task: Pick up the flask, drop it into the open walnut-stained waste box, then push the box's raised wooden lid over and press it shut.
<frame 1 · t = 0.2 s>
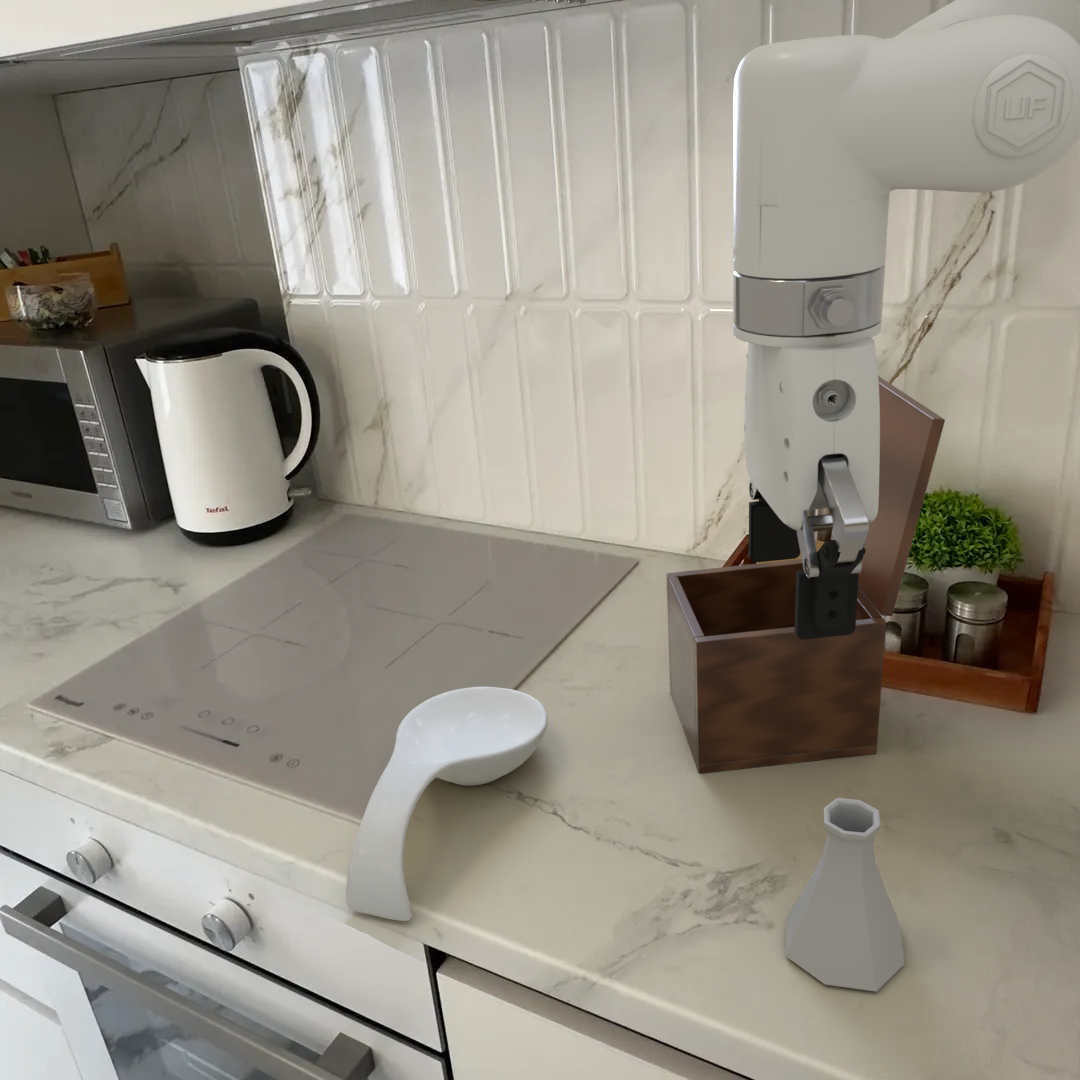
hand: (797, 593, 58), 21 cm above the worktop, tool pointing down, fingers open, 9 cm apart
waste box: (767, 720, 81), on the worktop
flask: (843, 947, 60), on the worktop
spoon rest: (451, 809, 75), on the worktop
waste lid: (880, 492, 74), point 20 cm above the worktop, hinge at 100.0°
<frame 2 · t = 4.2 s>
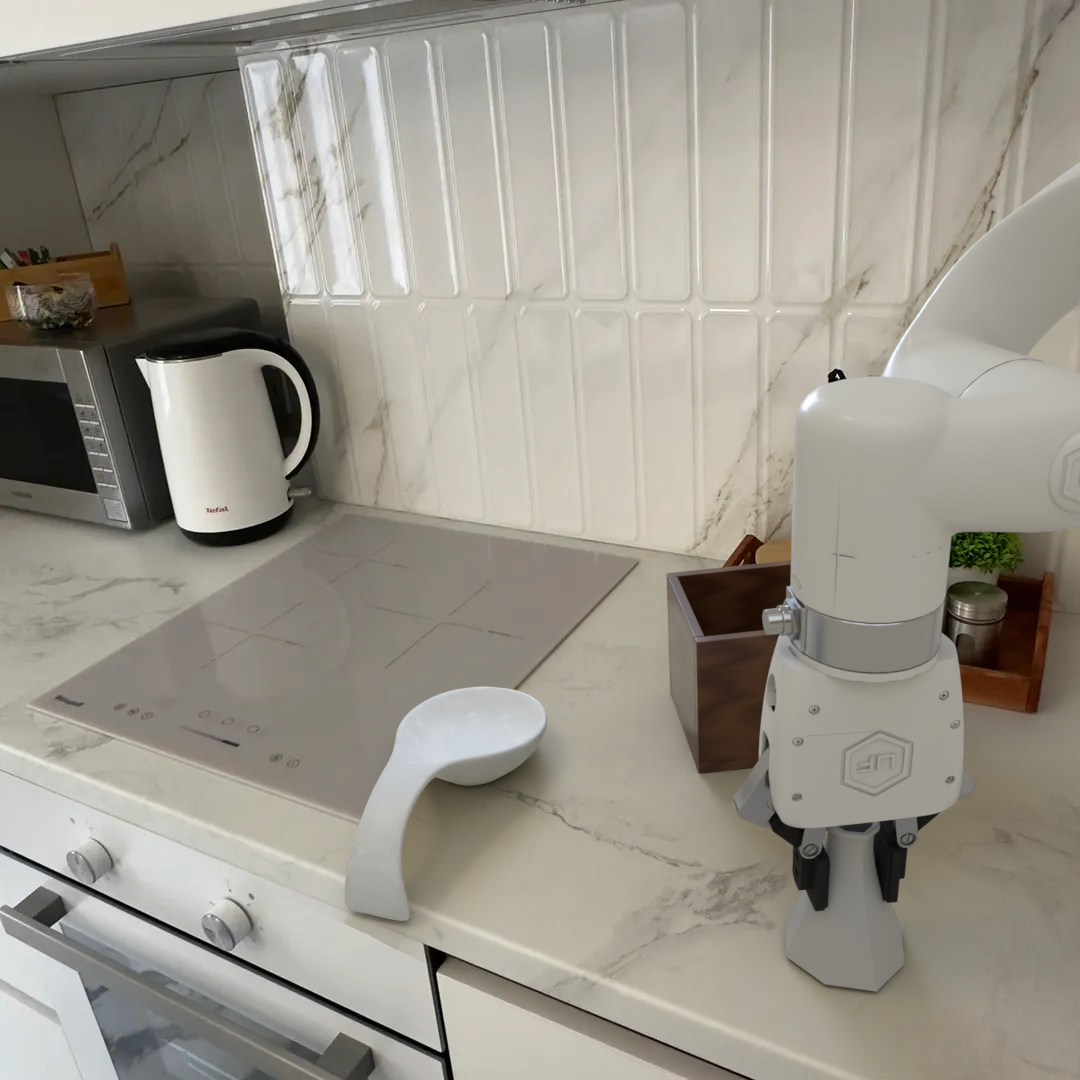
hand: (847, 887, 58), 5 cm above the worktop, tool pointing down, fingers closed on flask, 3 cm apart
flask: (843, 947, 60), on the worktop, touching gripper
everything else where it was.
when the fingers open (6 cm above the worktop, at t = 13.5 s): flask stays where it is, resting on waste box.
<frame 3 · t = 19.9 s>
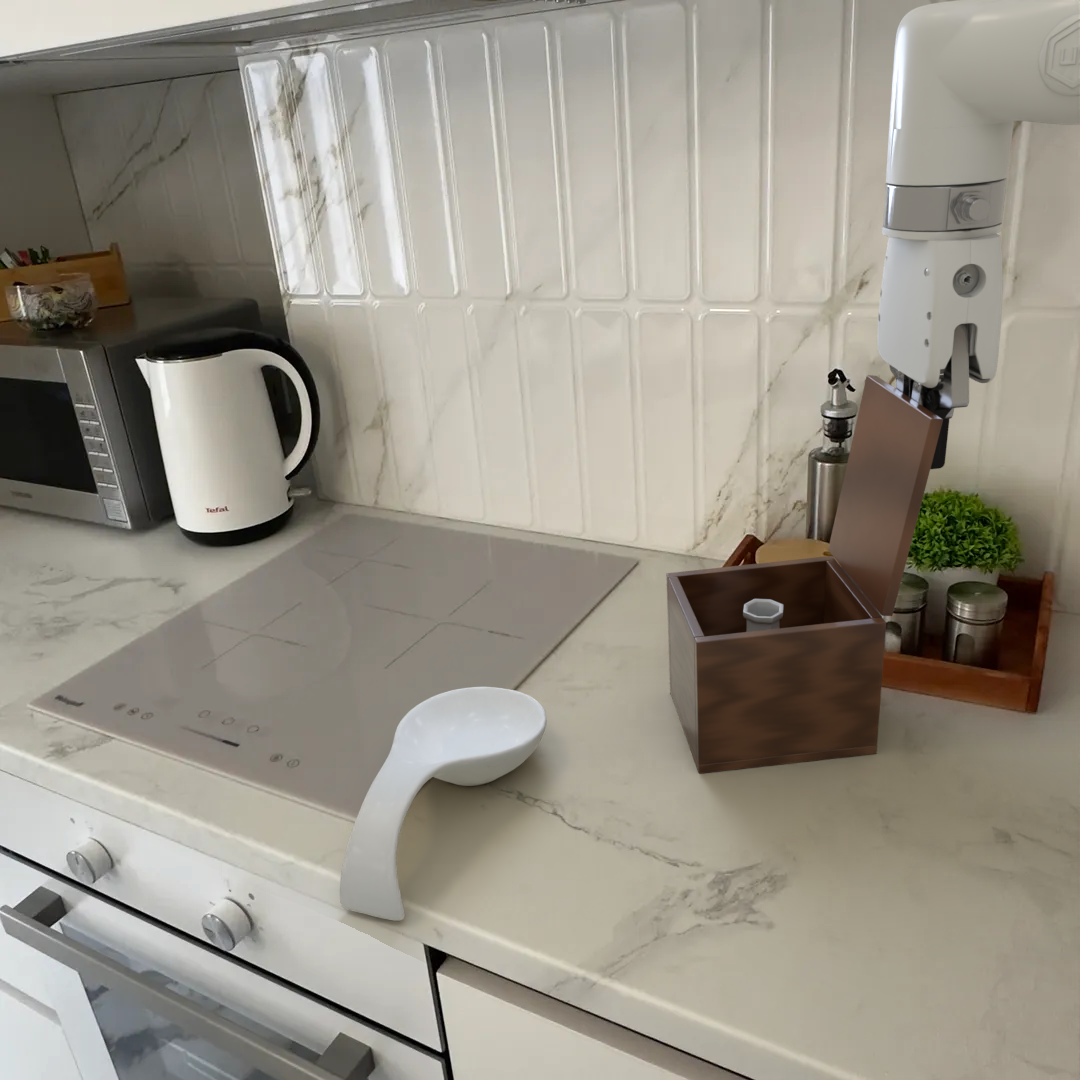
hand: (918, 465, 73), 21 cm above the worktop, tool pointing down, fingers closed
flask: (761, 715, 81), point 1 cm above the worktop, touching waste box
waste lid: (879, 492, 74), point 20 cm above the worktop, hinge at 99.4°, touching gripper
everything else where it was.
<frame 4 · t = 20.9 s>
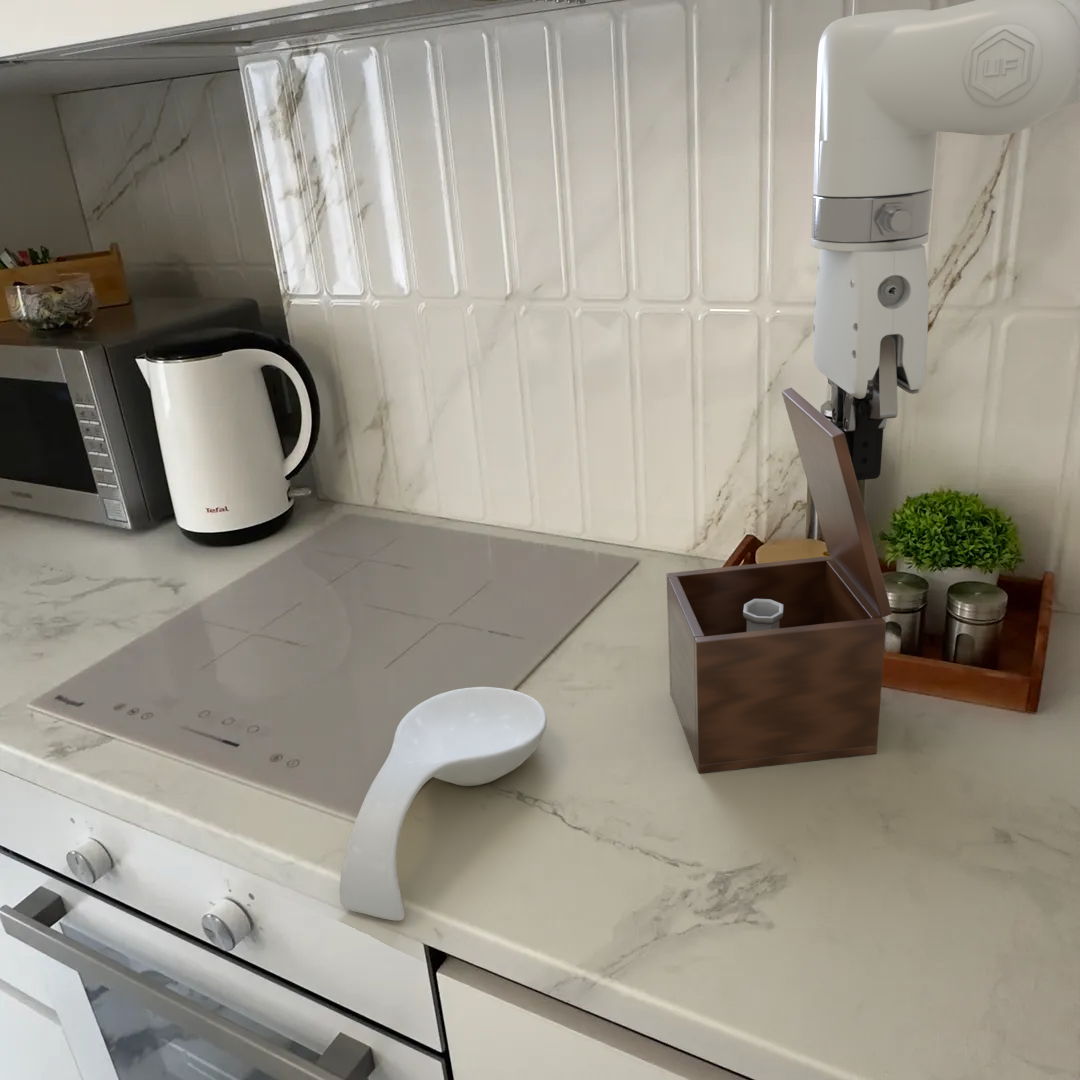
hand: (854, 475, 73), 21 cm above the worktop, tool pointing down, fingers closed
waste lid: (835, 499, 73), point 19 cm above the worktop, hinge at 73.4°, touching gripper
everything else where it was.
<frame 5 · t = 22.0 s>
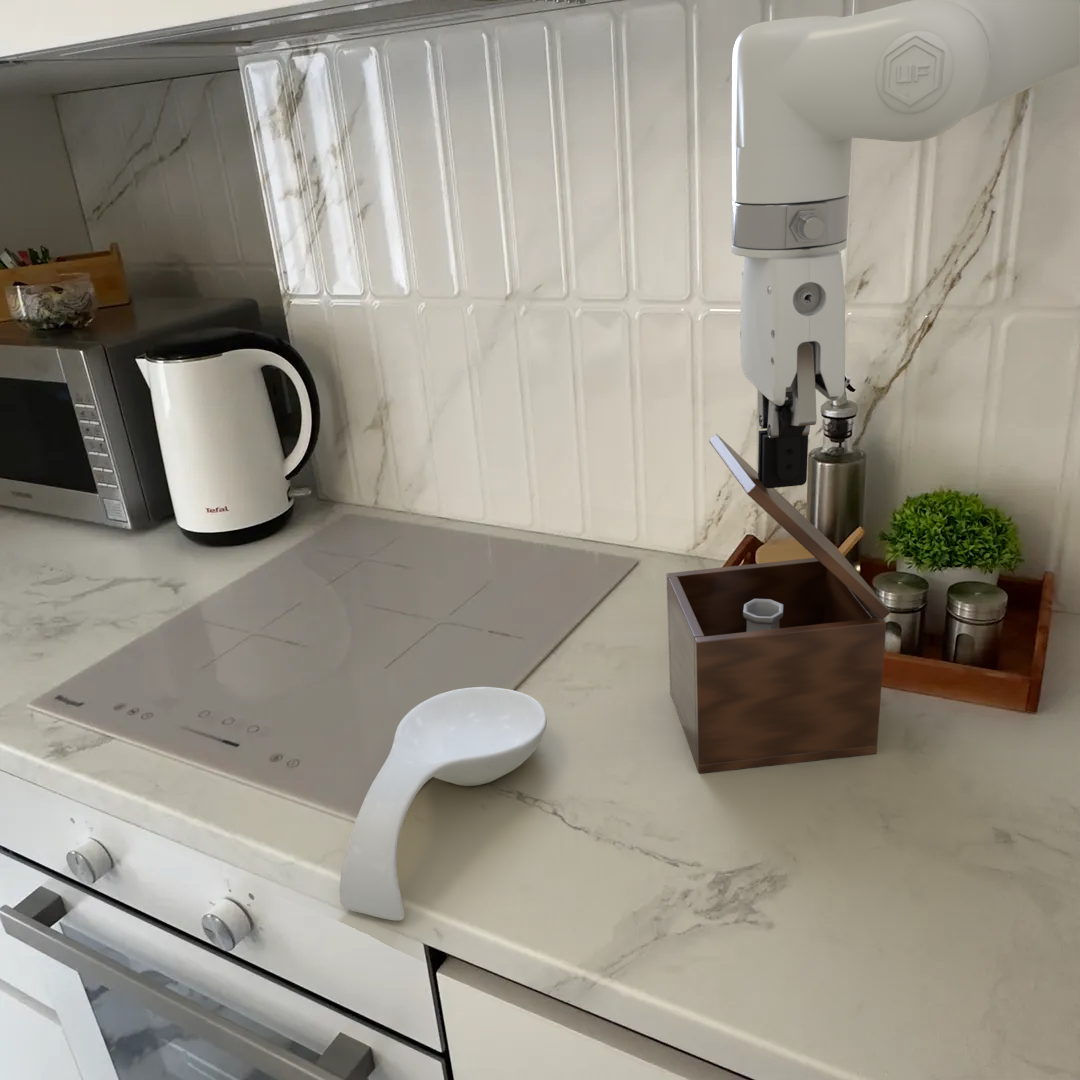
hand: (781, 482, 73), 21 cm above the worktop, tool pointing down, fingers closed
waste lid: (796, 523, 74), point 18 cm above the worktop, hinge at 47.5°, touching gripper
everything else where it was.
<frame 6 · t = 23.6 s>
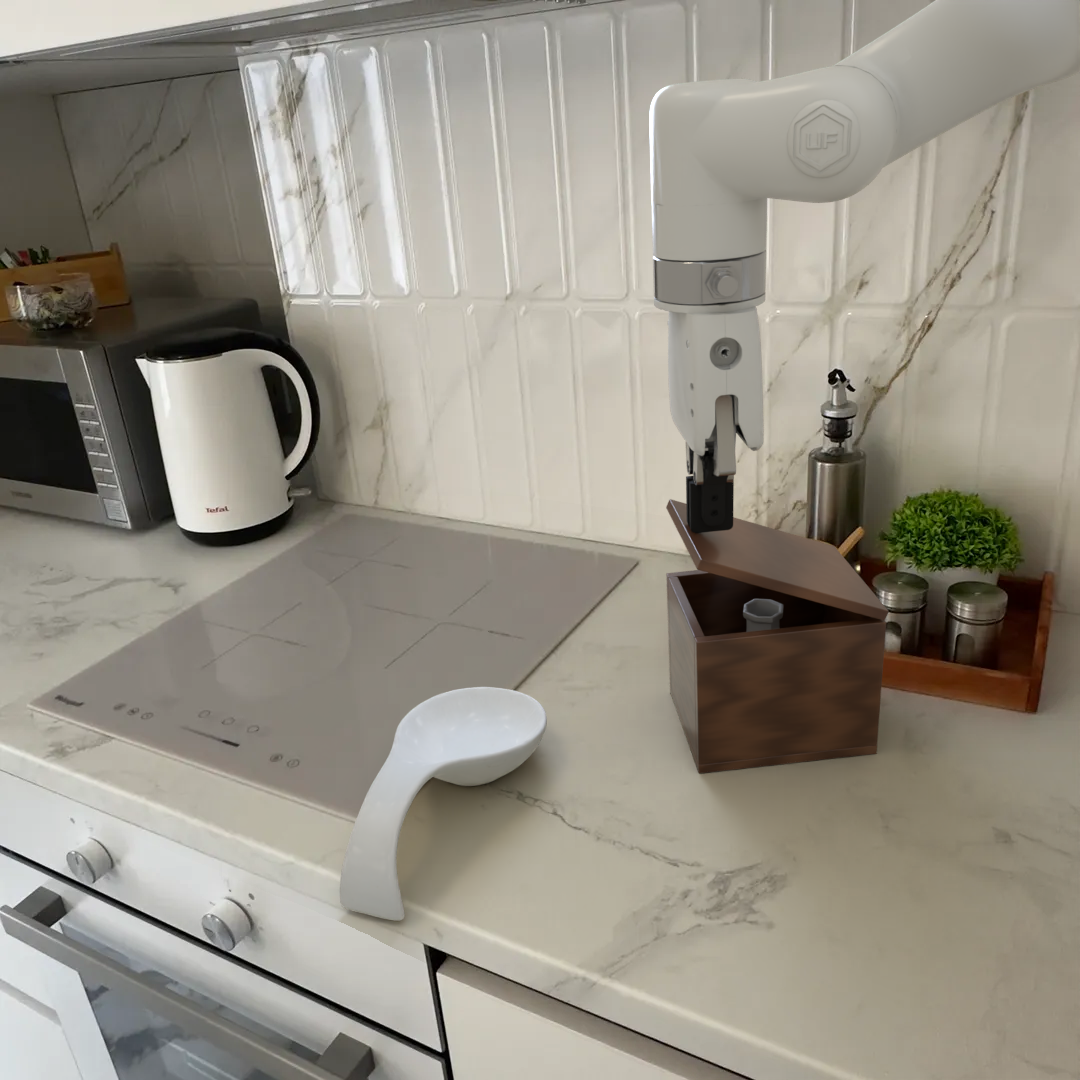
hand: (709, 526, 74), 18 cm above the worktop, tool pointing down, fingers closed
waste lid: (771, 556, 75), point 15 cm above the worktop, hinge at 22.8°, touching gripper
everything else where it was.
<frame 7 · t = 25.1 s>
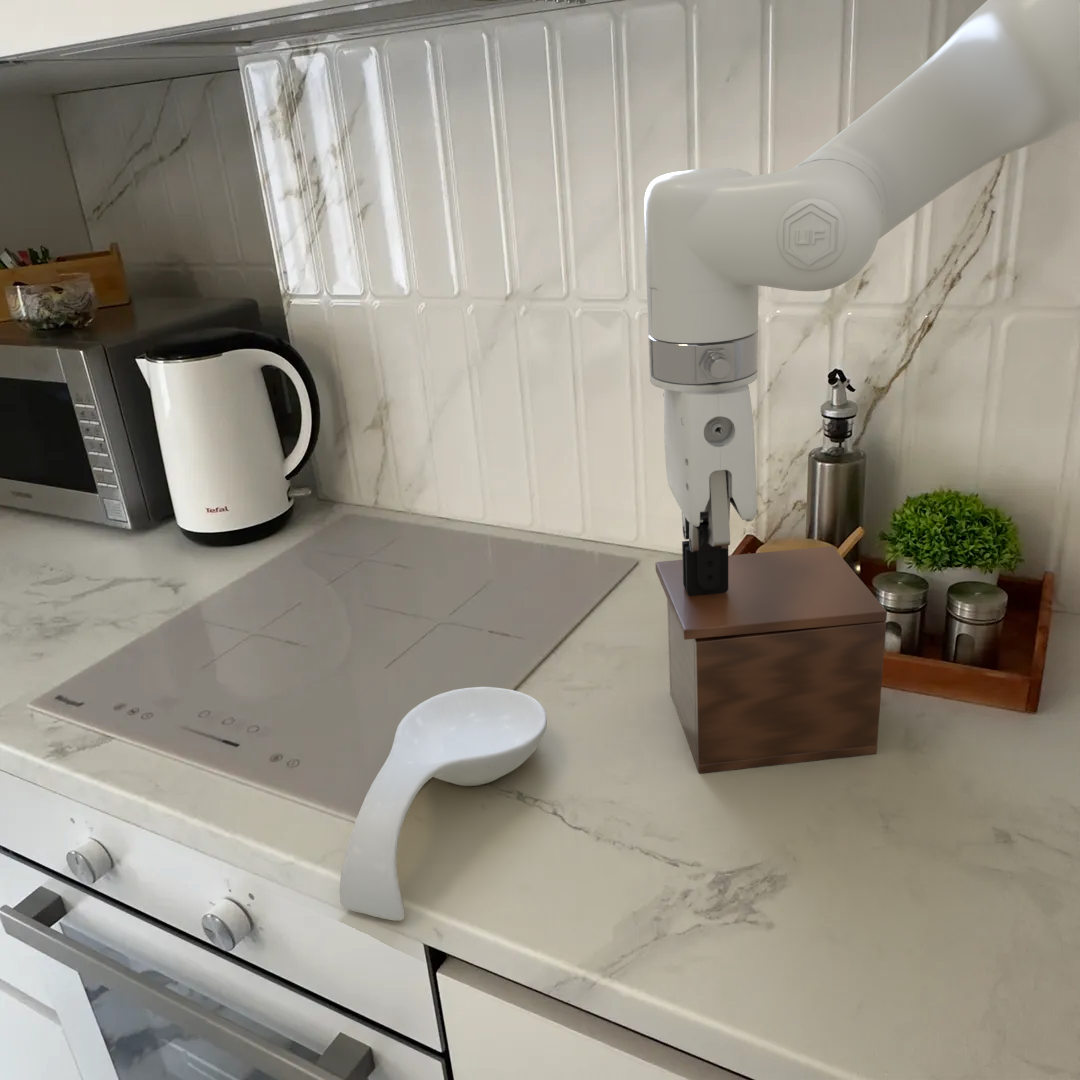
hand: (705, 589, 76), 13 cm above the worktop, tool pointing down, fingers closed
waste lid: (763, 589, 76), point 12 cm above the worktop, hinge at 1.0°, touching gripper
everything else where it was.
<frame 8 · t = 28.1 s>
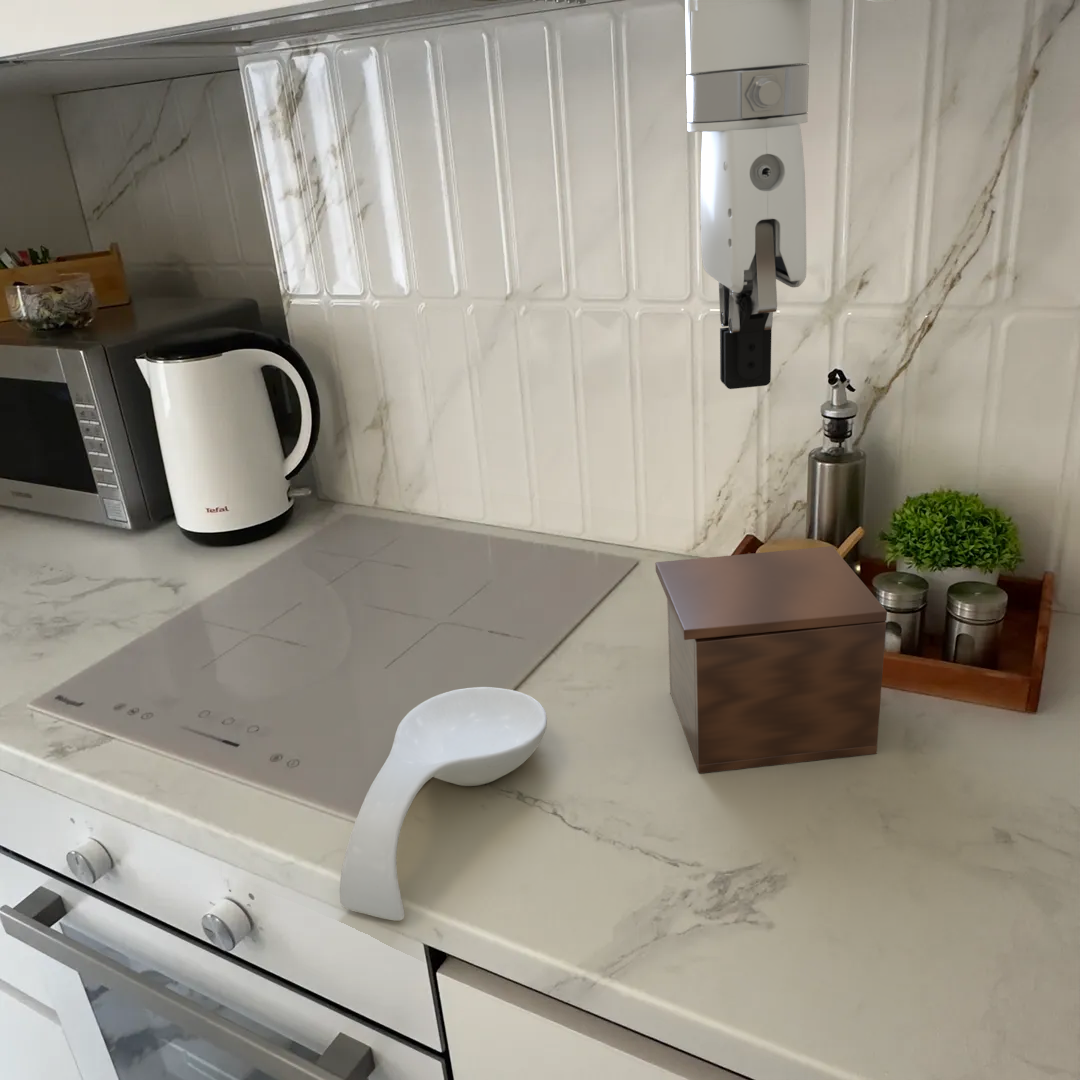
hand: (745, 383, 69), 29 cm above the worktop, tool pointing down, fingers closed
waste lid: (763, 589, 76), point 12 cm above the worktop, hinge at 0.9°
everything else where it was.
at the end: flask inside the target area in the waste box (0.5 cm from its centre), point 0.6 cm above the waste box's base; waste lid at +1° (first picture: +100°) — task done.
